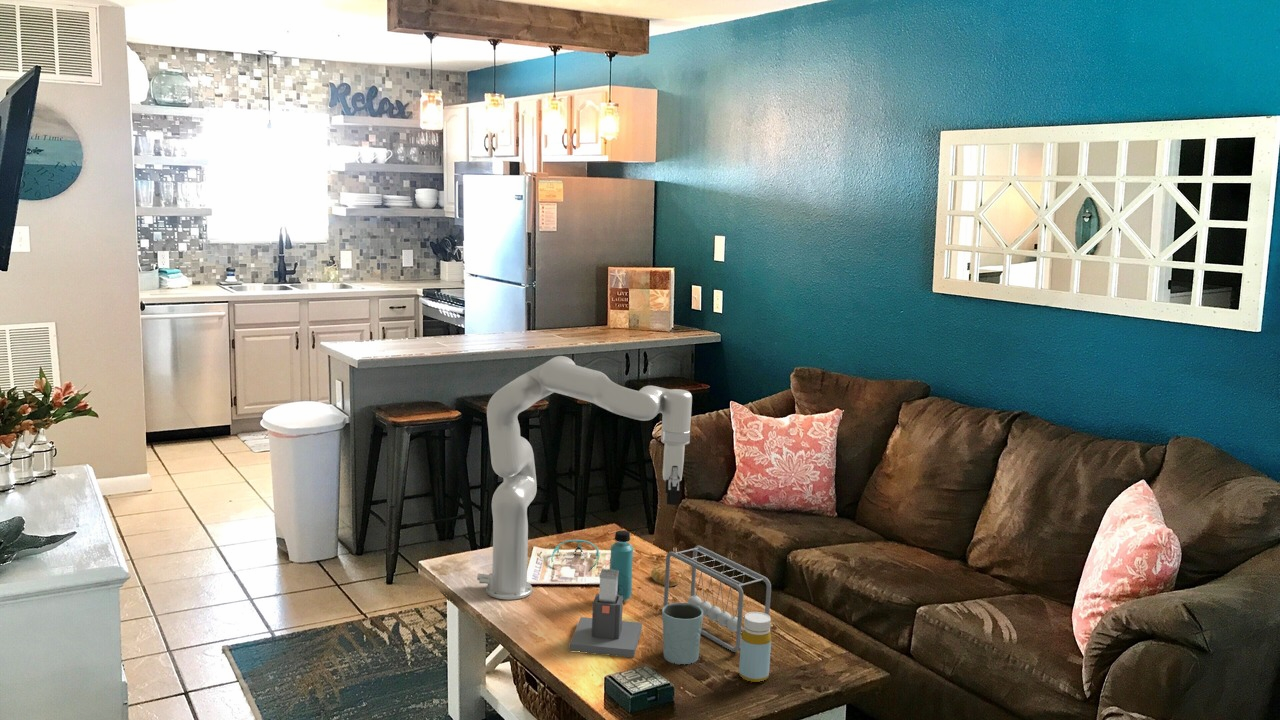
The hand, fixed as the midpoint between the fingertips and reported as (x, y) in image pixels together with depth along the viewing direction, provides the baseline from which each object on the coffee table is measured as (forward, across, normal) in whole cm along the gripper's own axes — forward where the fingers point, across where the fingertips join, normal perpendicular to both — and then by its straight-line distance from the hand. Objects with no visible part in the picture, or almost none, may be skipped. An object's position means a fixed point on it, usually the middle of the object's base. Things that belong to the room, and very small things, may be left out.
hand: (672, 498), depth 280 cm
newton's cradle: (+31, +12, +12) cm, 35 cm away
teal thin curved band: (+32, -31, -26) cm, 52 cm away
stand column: (+28, +22, -16) cm, 39 cm away
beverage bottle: (+31, -3, -13) cm, 34 cm away
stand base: (+31, +22, -16) cm, 41 cm away
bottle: (+31, +38, +20) cm, 53 cm away
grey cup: (+31, +29, +3) cm, 43 cm away
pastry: (+32, -20, 0) cm, 37 cm away
